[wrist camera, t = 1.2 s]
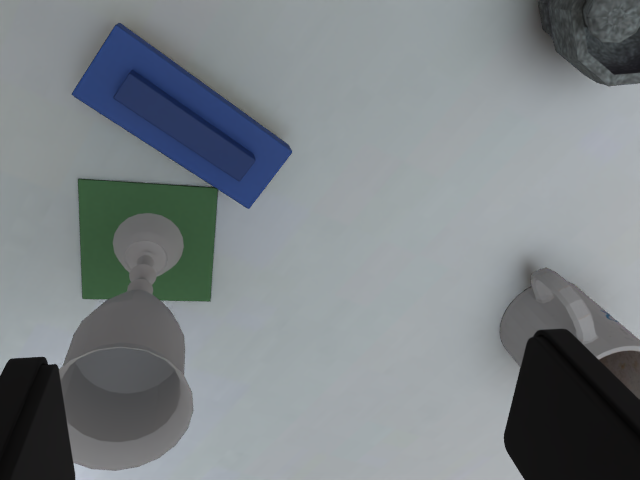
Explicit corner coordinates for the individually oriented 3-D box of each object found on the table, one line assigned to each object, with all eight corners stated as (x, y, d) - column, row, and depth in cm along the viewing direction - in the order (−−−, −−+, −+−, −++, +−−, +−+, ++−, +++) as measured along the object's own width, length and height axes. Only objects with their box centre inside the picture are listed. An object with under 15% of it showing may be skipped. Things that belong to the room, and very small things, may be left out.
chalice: (119, 184, 40) (66, 327, 24) (211, 218, 43) (217, 370, 27) (86, 270, 42) (17, 453, 26) (174, 298, 45) (160, 482, 29)
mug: (586, 344, 55) (660, 416, 46) (502, 369, 55) (561, 447, 46) (587, 233, 50) (671, 291, 41) (494, 259, 49) (558, 324, 40)
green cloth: (82, 297, 44) (82, 298, 43) (78, 178, 40) (78, 179, 40) (210, 300, 46) (210, 301, 45) (217, 187, 42) (217, 188, 42)
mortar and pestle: (654, -78, 40) (822, -95, 29) (628, 62, 44) (767, 93, 33) (502, -72, 38) (620, -87, 27) (490, 74, 42) (588, 110, 31)
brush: (81, 84, 37) (66, 99, 33) (122, 19, 36) (112, 26, 32) (245, 192, 42) (250, 217, 38) (286, 138, 41) (296, 158, 37)
